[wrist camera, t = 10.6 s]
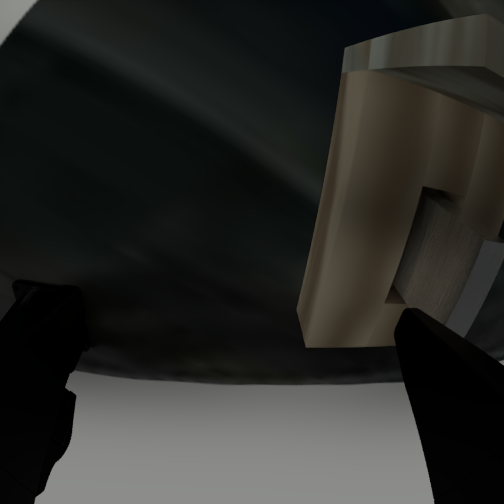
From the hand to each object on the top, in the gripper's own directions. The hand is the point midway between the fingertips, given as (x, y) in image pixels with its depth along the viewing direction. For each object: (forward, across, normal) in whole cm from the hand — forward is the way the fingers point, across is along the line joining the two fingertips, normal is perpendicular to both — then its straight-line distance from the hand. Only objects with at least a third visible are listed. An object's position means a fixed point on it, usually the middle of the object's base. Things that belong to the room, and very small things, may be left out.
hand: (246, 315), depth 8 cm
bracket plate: (+11, -11, +1) cm, 16 cm away
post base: (+12, -11, 0) cm, 16 cm away
